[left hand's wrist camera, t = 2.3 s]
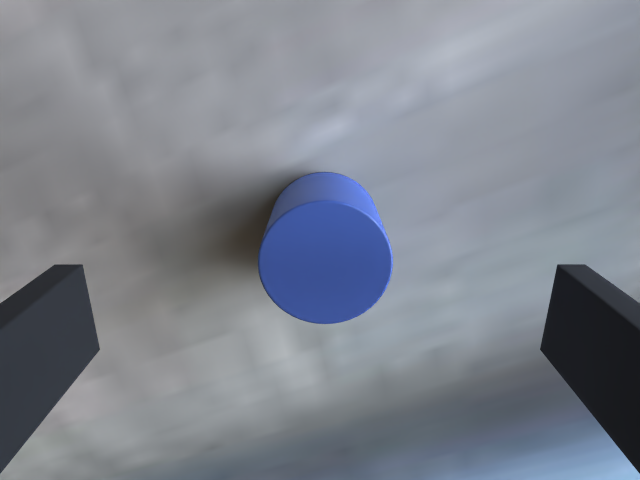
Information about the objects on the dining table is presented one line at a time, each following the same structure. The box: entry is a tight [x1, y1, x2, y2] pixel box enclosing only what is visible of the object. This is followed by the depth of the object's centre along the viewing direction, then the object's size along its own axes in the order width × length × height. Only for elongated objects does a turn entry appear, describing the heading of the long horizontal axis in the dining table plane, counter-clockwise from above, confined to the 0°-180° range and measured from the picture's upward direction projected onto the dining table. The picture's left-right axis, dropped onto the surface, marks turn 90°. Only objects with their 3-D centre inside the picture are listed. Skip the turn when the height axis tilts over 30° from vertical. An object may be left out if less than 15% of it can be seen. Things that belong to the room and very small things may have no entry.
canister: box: [258, 172, 393, 324], centre depth 17 cm, size 4×4×4 cm
